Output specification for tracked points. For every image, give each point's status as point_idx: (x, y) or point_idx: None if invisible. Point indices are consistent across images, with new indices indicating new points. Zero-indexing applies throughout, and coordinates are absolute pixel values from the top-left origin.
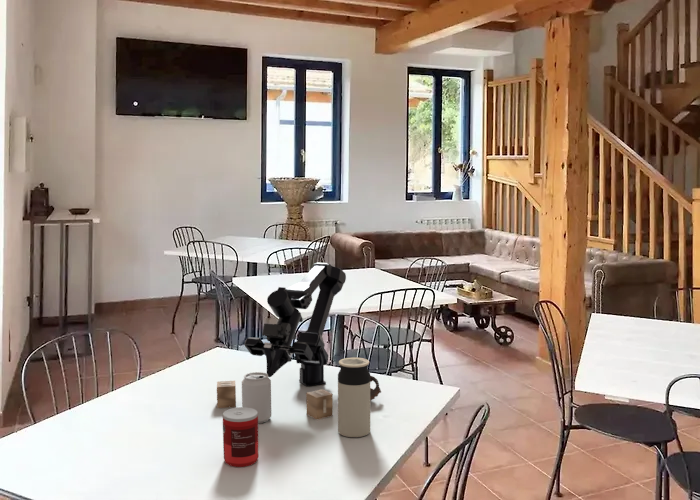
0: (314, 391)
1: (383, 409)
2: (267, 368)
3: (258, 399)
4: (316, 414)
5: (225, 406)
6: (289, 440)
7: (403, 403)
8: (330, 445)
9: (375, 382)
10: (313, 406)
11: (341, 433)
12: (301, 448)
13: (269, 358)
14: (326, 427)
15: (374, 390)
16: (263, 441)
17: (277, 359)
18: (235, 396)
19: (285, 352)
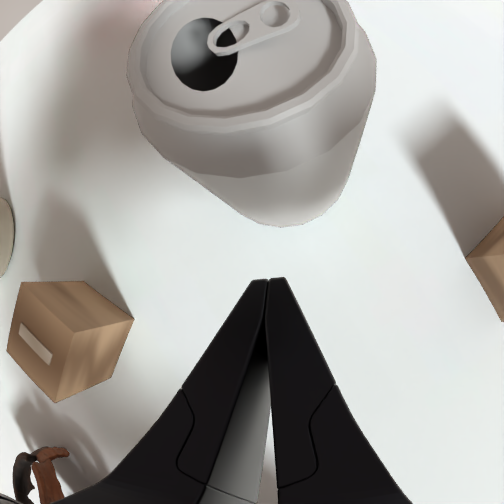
0: (58, 362)
1: (14, 421)
2: (295, 326)
3: (207, 67)
4: (71, 282)
5: (494, 228)
6: (93, 94)
7: None
8: (15, 138)
9: (20, 498)
10: (66, 293)
11: (2, 198)
12: (59, 83)
13: (303, 459)
14: (42, 233)
15: (14, 466)
16: None
17: (144, 447)
18: (489, 254)
19: (3, 500)
